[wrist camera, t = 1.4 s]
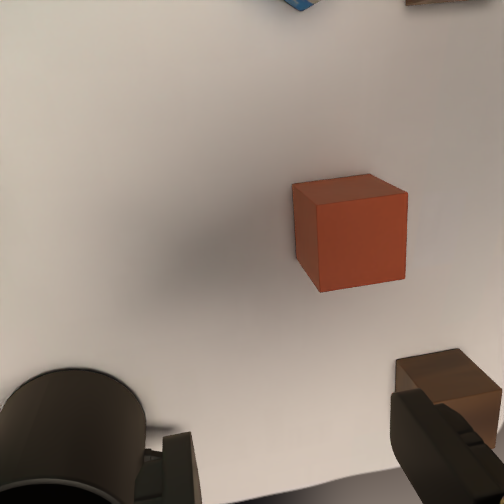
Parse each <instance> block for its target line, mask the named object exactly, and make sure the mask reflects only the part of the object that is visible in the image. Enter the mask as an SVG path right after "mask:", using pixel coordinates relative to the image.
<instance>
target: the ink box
mask: <svg viewBox="0 0 504 504" xmlns="http://www.w3.org/2000/svg"><path fill="white" fill-rule="evenodd" d="M284 1H286V2H287V3H289V4H290V5H291V6H293V7H294V8H296V9H297V10H299V11H303V10H305V9H307V8H309V7H310V6H312V5H314V4H316V3H317V2H319V1H321V0H284Z"/></svg>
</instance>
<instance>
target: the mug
mask: <svg viewBox="0 0 504 504" xmlns="http://www.w3.org/2000/svg"><path fill="white" fill-rule="evenodd" d="M145 439H146V421H145V416H144V413H143V410H142V408H141V406H140V404H139V403H138V401H137V399H136V398H135V397H134V395H133V394H132V393H131V392H130V391H129V390H128V389H127V388H126V387H124V386H123V385H122V384H120V383H119V382H117V381H115V380H113V379H112V378H109V377H107V376H104V375H102V374H99V373H94V372H90V371H81V370H66V371H59V372H53V373H50V374H46V375H43V376H41V377H38V378H36V379H34V380H32V381H30V382H29V383H27V384H25V385H24V386H22V387H21V388H20V389H18V390H17V391H16V392H15V393H14V394H13V395H12V396H11V397H10V398H9V399H8V401H7V402H6V403H5V405H4V407H3V409H2V411H1V413H0V504H133V503H134V489H135V479H136V477H137V476H138V474H139V472H140V470H141V468H142V466H143V464H144V462H147V461H152V460H157V459H162V452H159V451H153V450H151V449H145Z"/></svg>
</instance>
